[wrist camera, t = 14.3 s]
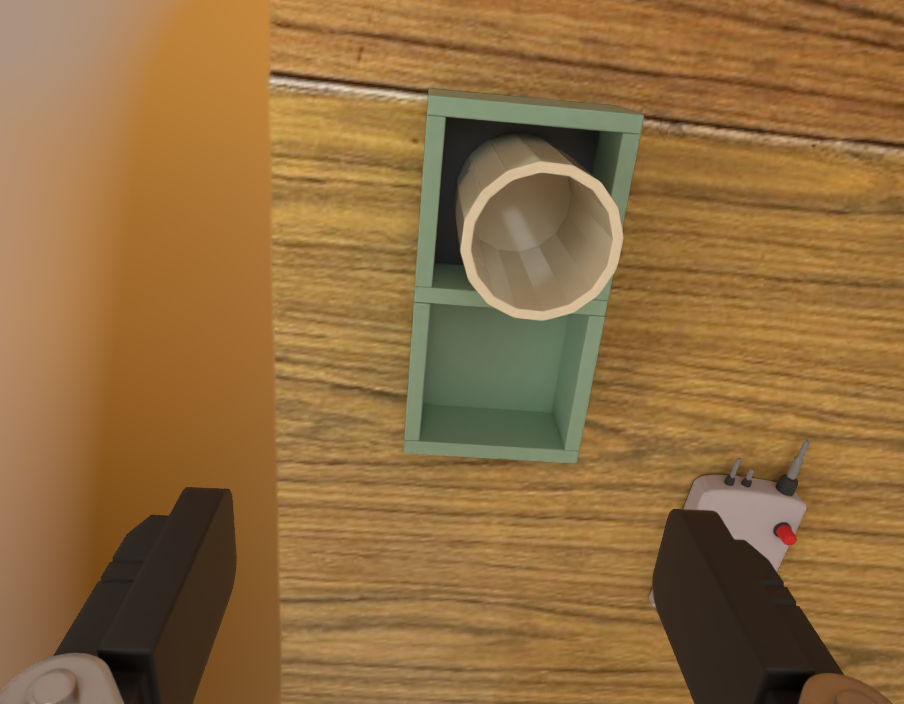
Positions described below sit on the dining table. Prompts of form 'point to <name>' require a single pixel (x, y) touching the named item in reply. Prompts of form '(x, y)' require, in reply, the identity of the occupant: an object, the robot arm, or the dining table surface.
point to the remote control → (754, 507)
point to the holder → (486, 328)
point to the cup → (534, 228)
